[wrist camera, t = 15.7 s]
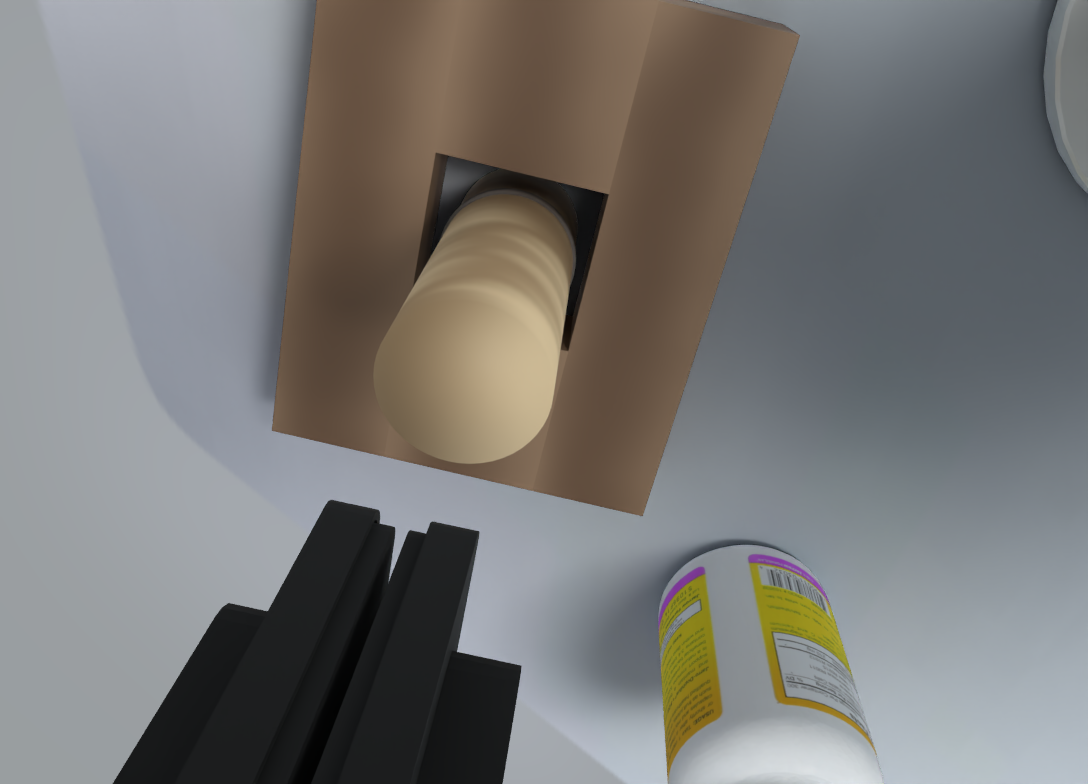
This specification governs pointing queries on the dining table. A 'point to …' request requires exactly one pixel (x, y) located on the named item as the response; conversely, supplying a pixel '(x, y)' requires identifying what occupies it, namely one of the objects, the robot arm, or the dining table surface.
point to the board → (542, 151)
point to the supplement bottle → (757, 676)
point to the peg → (483, 324)
